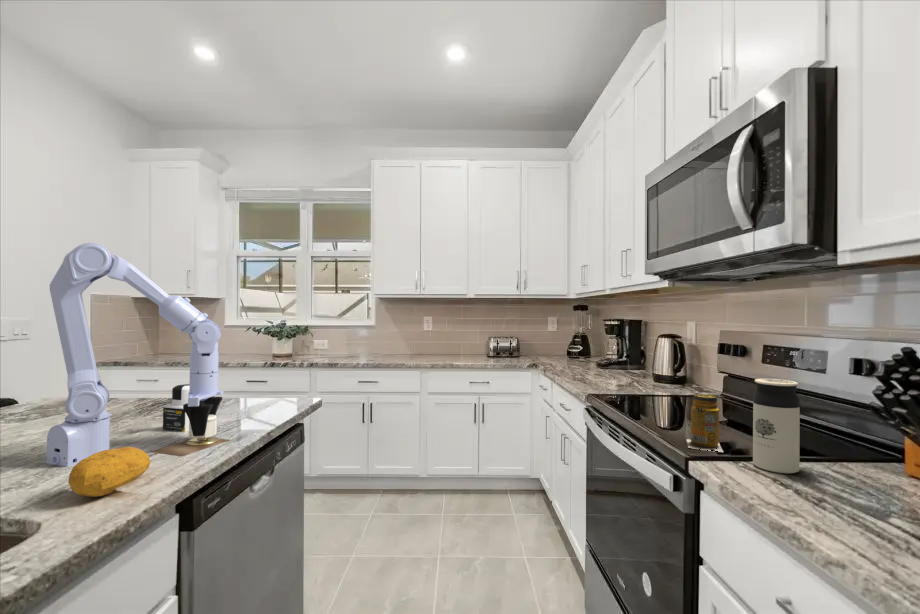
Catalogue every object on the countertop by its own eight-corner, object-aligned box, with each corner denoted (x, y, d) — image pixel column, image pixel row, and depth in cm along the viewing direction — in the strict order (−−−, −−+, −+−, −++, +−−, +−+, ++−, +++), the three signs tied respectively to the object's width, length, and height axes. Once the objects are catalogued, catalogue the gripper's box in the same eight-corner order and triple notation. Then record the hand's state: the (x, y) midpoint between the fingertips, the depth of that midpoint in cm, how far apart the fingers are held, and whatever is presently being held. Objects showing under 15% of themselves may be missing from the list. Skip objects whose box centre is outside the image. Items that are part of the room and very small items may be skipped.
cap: (185, 438, 103) (186, 420, 103) (193, 432, 108) (194, 414, 108) (212, 437, 104) (212, 419, 104) (219, 431, 109) (219, 414, 109)
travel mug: (776, 461, 101) (777, 378, 101) (809, 473, 93) (809, 383, 94) (743, 462, 100) (744, 378, 100) (774, 475, 92) (774, 384, 92)
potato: (50, 505, 74) (51, 462, 74) (124, 475, 88) (125, 439, 88) (94, 508, 73) (95, 465, 73) (161, 478, 87) (162, 441, 87)
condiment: (719, 443, 115) (719, 394, 115) (723, 453, 107) (723, 400, 107) (686, 440, 118) (686, 392, 118) (688, 448, 110) (688, 397, 110)
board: (181, 462, 96) (182, 456, 96) (148, 457, 98) (148, 451, 98) (230, 445, 108) (230, 439, 108) (199, 441, 111) (200, 436, 111)
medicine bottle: (161, 434, 117) (162, 386, 117) (186, 427, 123) (187, 382, 124) (184, 436, 115) (185, 388, 115) (207, 430, 121) (208, 383, 122)
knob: (202, 447, 102) (202, 432, 102) (179, 444, 104) (179, 430, 104) (225, 439, 108) (225, 425, 108) (203, 437, 110) (203, 423, 110)
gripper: (214, 376, 100) (212, 440, 100) (231, 368, 114) (230, 424, 114) (177, 377, 98) (176, 441, 98) (199, 368, 113) (198, 425, 112)
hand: (203, 432), depth 106 cm, fingers closed on cap, 5 cm apart
